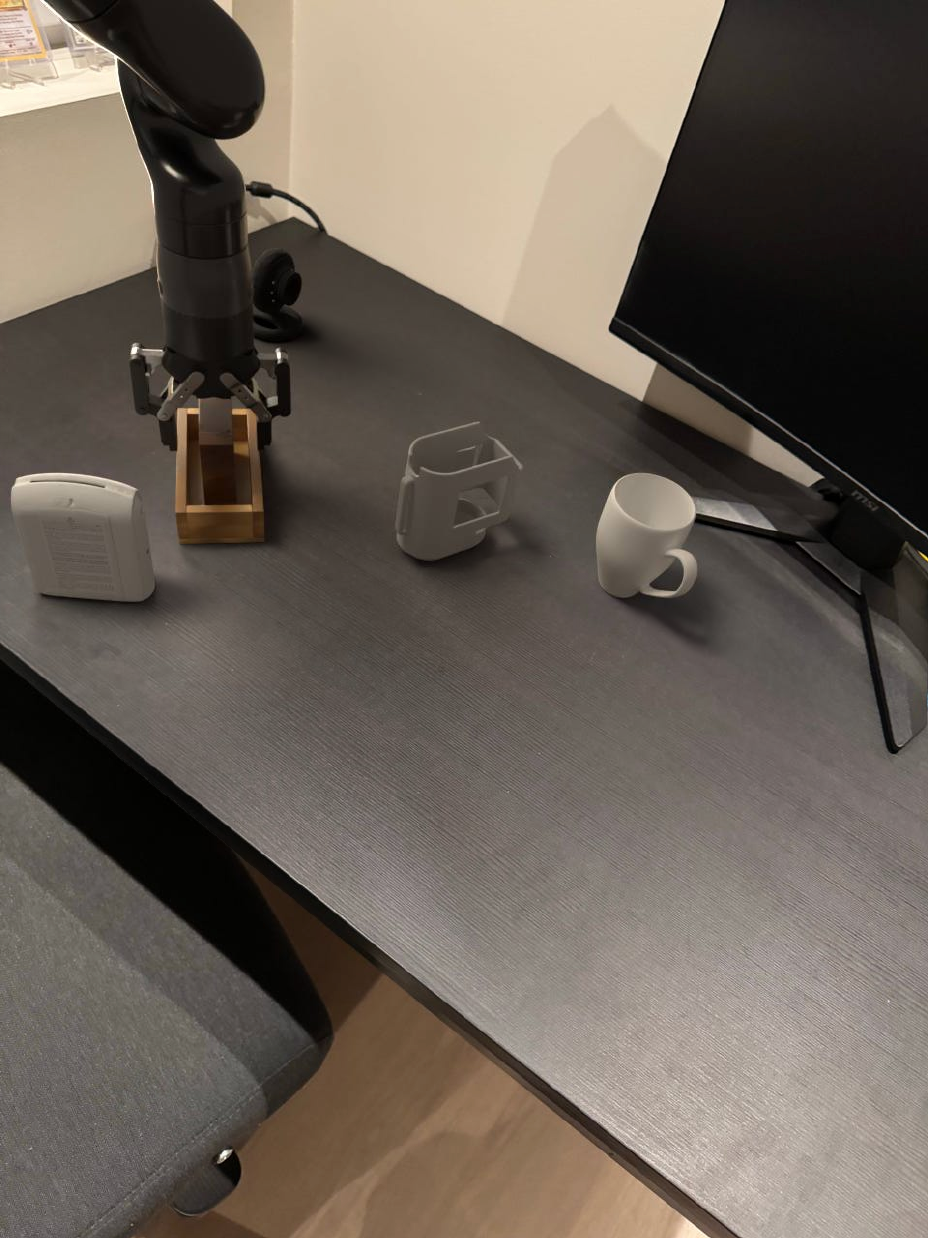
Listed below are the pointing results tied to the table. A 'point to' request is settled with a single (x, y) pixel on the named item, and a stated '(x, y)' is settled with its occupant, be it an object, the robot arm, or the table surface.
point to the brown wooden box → (217, 451)
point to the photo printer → (83, 536)
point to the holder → (190, 509)
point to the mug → (644, 535)
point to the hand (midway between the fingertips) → (217, 445)
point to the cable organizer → (452, 491)
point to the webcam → (276, 295)
